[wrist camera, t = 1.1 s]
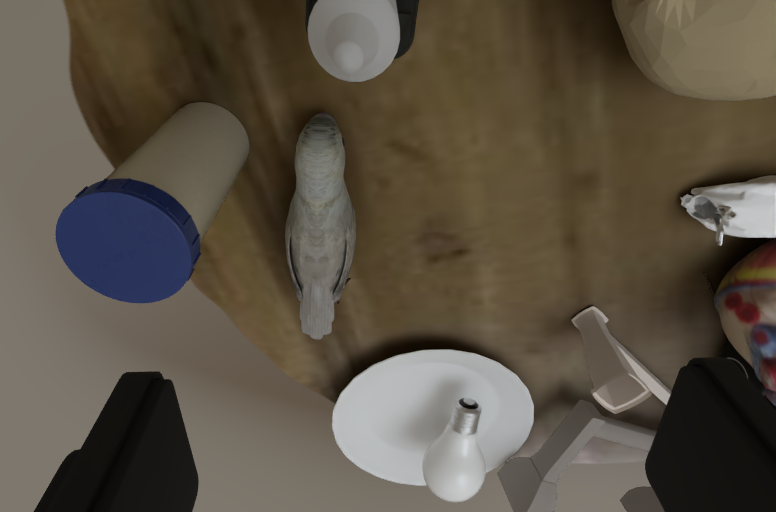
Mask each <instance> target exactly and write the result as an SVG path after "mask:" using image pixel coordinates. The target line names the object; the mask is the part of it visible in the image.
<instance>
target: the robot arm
mask: <svg viewBox="0 0 776 512" xmlns="http://www.w3.org/2000/svg"><path fill="white" fill-rule="evenodd" d="M645 470H646V475H647V478H648V480H649V483H650V485H651V487H652V489H653V490H654V492H655V494H656V496H657V498H658V500H659V502H660V504H661V506H662V507H663V509H664V511H665V512H776V410H775V409H774V407H773V406H772V405H771V404H770V403H769V402H768V401H767V400H766V398H765V397H764V396H763V395H762V394H761V393H760V392H759V390H758V389H757V388H756V387H755V386H754V385H753V384H752V383H751V381H750V380H749V379H748V378H747V377H746V376H745V375H744V373H743V372H742V371H741V370H740V369H739V368H738V367H737V365H736V364H735V363H734V362H733V361H731V360H730V359H728V358H725V357H719V358H693V359H691V360H690V361H689V363H688V364H687V366H683V367H682V368H681V369H680V371H679V373H678V376H677V379H676V381H675V384H674V387H673V389H672V392H671V395H670V397H669V400H668V403H667V405H666V408H665V411H664V413H663V416H662V419H661V421H660V424H659V427H658V429H657V432H656V435H655V437H654V440H653V443H652V445H651V448H650V451H649V453H648V456H647V459H646V463H645ZM197 492H198V474H197V470H196V466H195V463H194V459H193V455H192V451H191V448H190V444H189V441H188V437H187V433H186V429H185V426H184V422H183V418H182V414H181V411H180V407H179V403H178V400H177V396H176V392H175V389H174V385H173V383H172V381H171V380H169V379H166V380H164V378H163V376H162V374H161V373H160V372H126V373H124V374H123V375H122V376H121V378H120V379H119V381H118V383H117V384H116V386H115V388H114V390H113V392H112V393H111V395H110V397H109V399H108V401H107V403H106V404H105V406H104V408H103V410H102V411H101V413H100V415H99V417H98V419H97V421H96V422H95V424H94V426H93V428H92V430H91V431H90V433H89V435H88V437H87V439H86V440H85V442H84V444H83V446H82V447H81V449H80V450H75V451H73V452H71V453H70V454H69V455H68V456H67V457H66V458H65V460H64V461H63V462H62V464H61V465H60V467H59V469H58V471H57V472H56V474H55V476H54V477H53V479H52V481H51V483H50V484H49V486H48V488H47V490H46V491H45V493H44V495H43V497H42V498H41V500H40V502H39V503H38V505H37V507H36V509H35V510H34V512H192V510H193V507H194V504H195V500H196V496H197Z"/></svg>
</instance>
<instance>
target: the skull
mask: <svg viewBox="0 0 776 512" xmlns="http://www.w3.org/2000/svg"><path fill="white" fill-rule="evenodd" d="M612 8H613V11H614V15H615V17H616V20H617V22H618V25H619V27H620V30H621V32H622V34H623V37H624V40H625V43H626V46H627V49H628V51H629V54H630V56H631V59H632V60H633V61H634V62H635V64H636V65H637V66H638V68H639V69H640V70H641V71H642V73H643V74H644V75H645V76H646V78H648V79H649V80H650V81H652V82H653V83H654V84H656V85H657V86H659V87H661V88H663V89H665V90H667V91H669V92H671V93H673V94H676V95H681V96H687V97H693V98H698V99H704V100H726V101H740V100H750V99H760V98H766V97H771V96H775V95H776V0H612Z"/></svg>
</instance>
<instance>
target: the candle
mask: <svg viewBox="0 0 776 512" xmlns="http://www.w3.org/2000/svg"><path fill="white" fill-rule="evenodd" d="M418 3H419V0H306V31H307V34H308V39H309V44H310V47H311V50H312V53H313V55H314V57H315V58H316V60H317V61H318V63H319V64H320V66H322V67H323V68H324V69H325V70H326V71H327V72H328V73H329V74H331V75H333V76H334V77H336V78H338V79H341V80H345V81H349V82H362V81H365V80H369V79H372V78H374V77H376V76H377V75H379V74H381V73H382V72H383V71H384V70H385V69H386V68H387V67H388V66H389V65H390V64H391V63H392V61H393V59H396V58H399V57H401V56H402V55H404V54H405V53H406V52H407V51H408V50H409V48H410V46H411V45H412V42H413V39H414V33H415V25H416V18H417V10H418Z"/></svg>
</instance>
